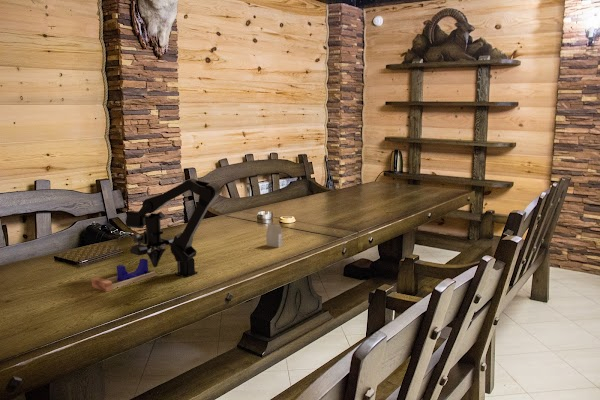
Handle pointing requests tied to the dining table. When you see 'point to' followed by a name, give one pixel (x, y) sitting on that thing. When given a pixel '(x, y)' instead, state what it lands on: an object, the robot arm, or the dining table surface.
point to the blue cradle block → (141, 270)
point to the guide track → (107, 283)
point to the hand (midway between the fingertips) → (155, 266)
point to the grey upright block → (274, 236)
